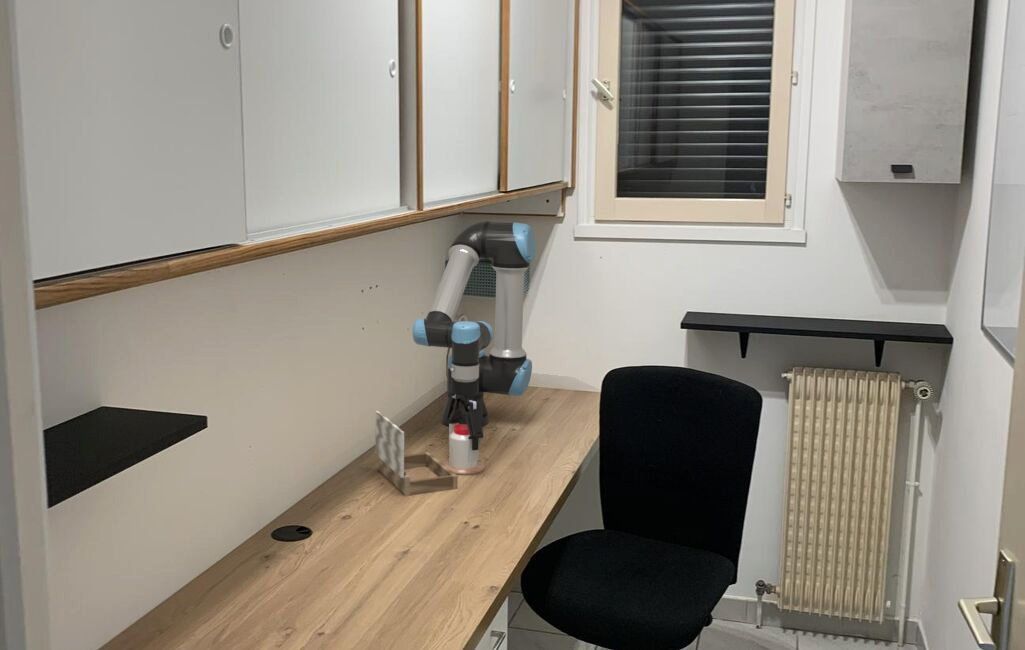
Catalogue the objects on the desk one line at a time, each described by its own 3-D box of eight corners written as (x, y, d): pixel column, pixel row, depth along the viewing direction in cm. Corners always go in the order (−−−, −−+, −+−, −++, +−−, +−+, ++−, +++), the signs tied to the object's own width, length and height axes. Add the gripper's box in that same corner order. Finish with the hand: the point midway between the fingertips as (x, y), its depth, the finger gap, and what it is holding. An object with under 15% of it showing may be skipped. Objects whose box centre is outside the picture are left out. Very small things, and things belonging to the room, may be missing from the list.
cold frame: (375, 471, 266) (375, 411, 263) (428, 464, 273) (429, 405, 270) (401, 496, 248) (401, 432, 245) (457, 488, 255) (458, 426, 252)
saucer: (434, 463, 273) (434, 460, 273) (473, 458, 279) (474, 455, 279) (451, 477, 263) (451, 474, 263) (491, 471, 268) (491, 469, 268)
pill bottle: (444, 462, 272) (445, 424, 270) (469, 458, 276) (470, 421, 274) (456, 471, 266) (456, 432, 264) (481, 467, 269) (482, 429, 267)
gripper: (435, 369, 275) (433, 441, 279) (471, 391, 253) (469, 469, 257) (459, 367, 278) (458, 438, 283) (497, 388, 257) (494, 465, 261)
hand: (463, 453), depth 270 cm, fingers open, 13 cm apart
